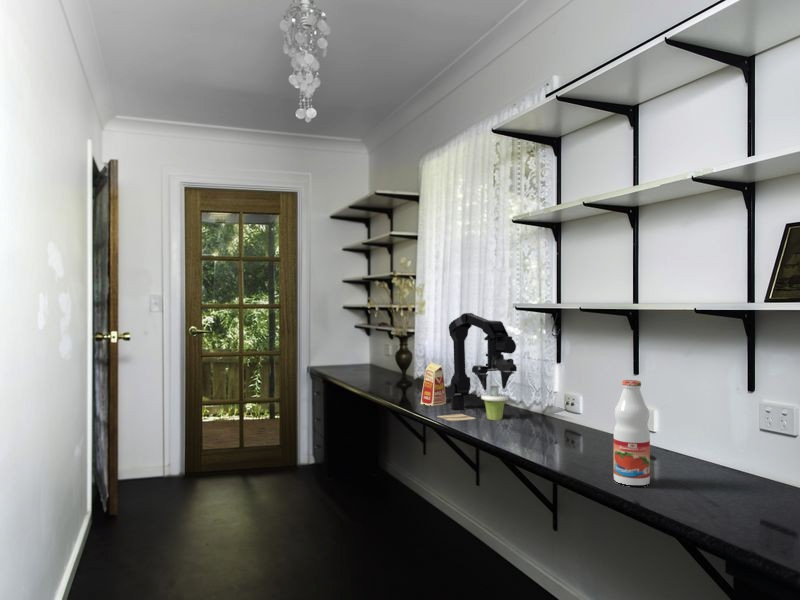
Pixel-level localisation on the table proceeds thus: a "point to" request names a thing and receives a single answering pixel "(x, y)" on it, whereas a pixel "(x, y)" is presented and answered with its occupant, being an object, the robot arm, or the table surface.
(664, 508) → the table surface
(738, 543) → the table surface
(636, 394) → the fruit juice
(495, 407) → the plant pot
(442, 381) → the milk carton
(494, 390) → the lid
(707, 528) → the table surface
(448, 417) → the mat
